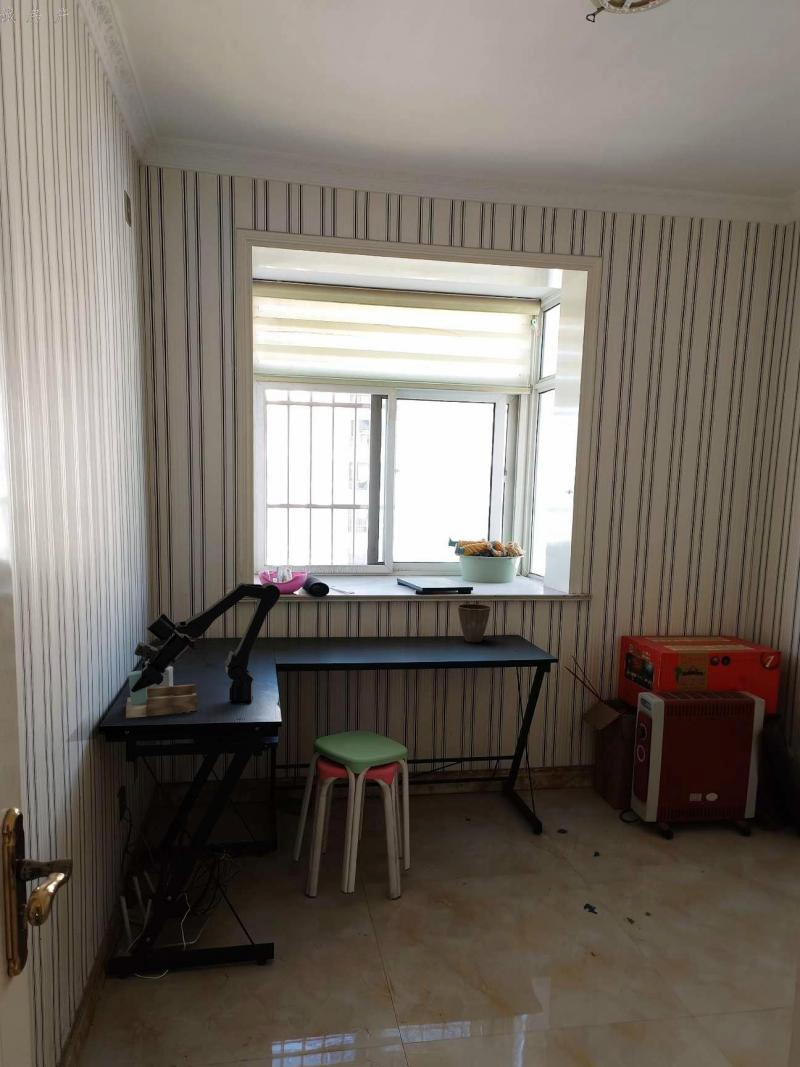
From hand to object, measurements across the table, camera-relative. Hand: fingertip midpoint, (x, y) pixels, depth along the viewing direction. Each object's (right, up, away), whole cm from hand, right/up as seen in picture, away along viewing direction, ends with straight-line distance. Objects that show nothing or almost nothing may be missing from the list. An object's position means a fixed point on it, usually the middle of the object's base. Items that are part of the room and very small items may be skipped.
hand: (132, 689), depth 198 cm
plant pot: (+115, -3, +105) cm, 156 cm away
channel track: (+7, -7, +3) cm, 10 cm away
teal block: (+2, -4, +1) cm, 5 cm away
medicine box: (+1, -6, +18) cm, 19 cm away
